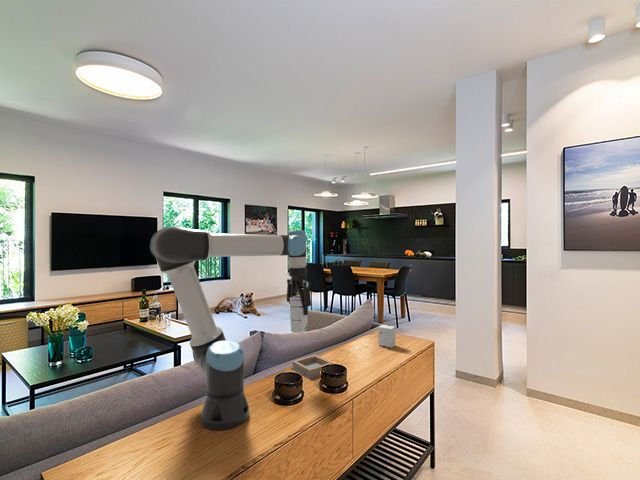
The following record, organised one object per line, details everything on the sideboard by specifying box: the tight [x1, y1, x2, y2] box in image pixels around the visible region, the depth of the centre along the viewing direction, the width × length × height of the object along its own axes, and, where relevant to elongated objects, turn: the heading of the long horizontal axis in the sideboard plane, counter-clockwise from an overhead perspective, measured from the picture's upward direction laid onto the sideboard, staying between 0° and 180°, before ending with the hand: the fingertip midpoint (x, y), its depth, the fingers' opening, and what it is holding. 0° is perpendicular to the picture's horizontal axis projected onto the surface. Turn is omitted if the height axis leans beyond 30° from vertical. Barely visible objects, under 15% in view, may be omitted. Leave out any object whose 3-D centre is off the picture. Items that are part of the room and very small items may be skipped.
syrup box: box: [289, 294, 308, 333], centre depth 138 cm, size 6×6×14 cm
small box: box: [377, 324, 396, 348], centre depth 177 cm, size 8×6×10 cm
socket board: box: [290, 354, 334, 379], centre depth 145 cm, size 14×14×3 cm
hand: (298, 320), depth 138 cm, fingers closed on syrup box, 8 cm apart
